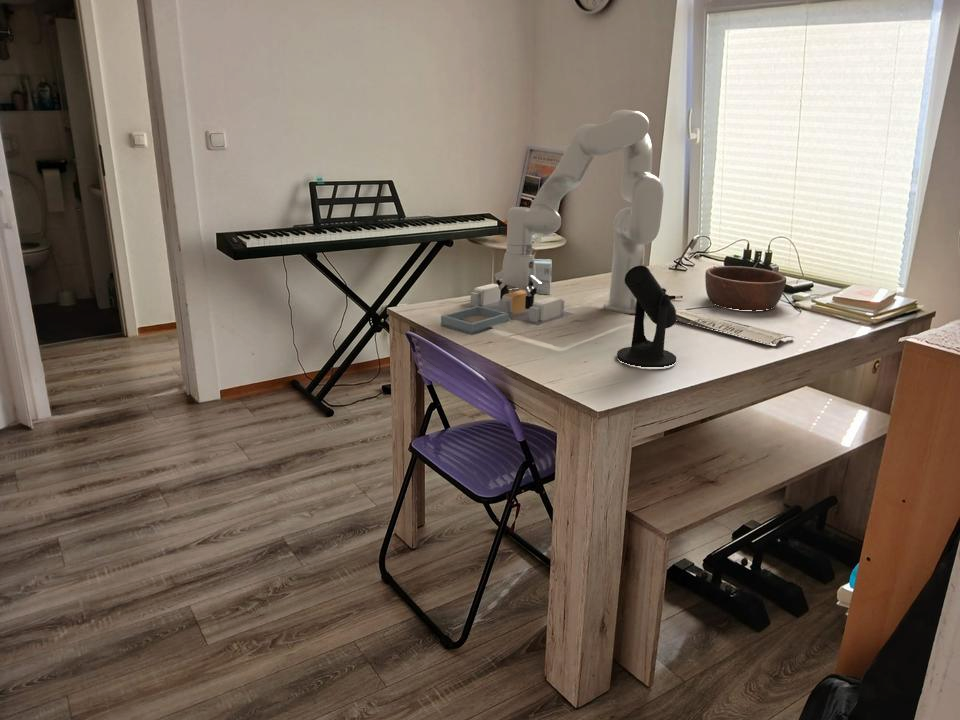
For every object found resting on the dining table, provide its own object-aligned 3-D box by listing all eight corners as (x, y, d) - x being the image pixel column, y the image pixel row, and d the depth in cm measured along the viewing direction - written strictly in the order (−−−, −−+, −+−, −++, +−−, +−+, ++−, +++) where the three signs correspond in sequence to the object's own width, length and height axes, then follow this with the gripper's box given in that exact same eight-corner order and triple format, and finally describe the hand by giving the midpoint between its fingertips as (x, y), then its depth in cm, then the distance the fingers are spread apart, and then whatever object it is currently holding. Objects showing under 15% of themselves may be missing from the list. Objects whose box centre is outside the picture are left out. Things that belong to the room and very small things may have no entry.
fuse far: (502, 300, 245) (502, 285, 243) (481, 306, 238) (482, 290, 236) (493, 298, 247) (494, 283, 246) (473, 303, 240) (473, 288, 238)
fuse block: (573, 316, 233) (574, 300, 231) (537, 328, 220) (538, 311, 219) (497, 298, 252) (498, 283, 250) (460, 308, 239) (460, 292, 237)
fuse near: (561, 314, 231) (562, 298, 229) (541, 321, 224) (542, 304, 222) (551, 312, 233) (552, 296, 232) (531, 318, 226) (532, 302, 224)
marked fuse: (530, 307, 238) (531, 291, 236) (510, 313, 231) (511, 297, 229) (522, 305, 240) (522, 289, 239) (501, 311, 233) (502, 295, 231)
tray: (508, 323, 224) (509, 313, 223) (472, 335, 213) (472, 324, 212) (477, 315, 232) (478, 305, 231) (440, 325, 220) (441, 315, 219)
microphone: (600, 357, 198) (608, 261, 189) (647, 347, 207) (657, 255, 199) (643, 375, 186) (653, 273, 178) (690, 362, 196) (702, 266, 188)
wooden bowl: (749, 293, 268) (753, 264, 264) (798, 312, 245) (804, 280, 242) (687, 297, 260) (690, 267, 257) (732, 317, 238) (736, 284, 234)
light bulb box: (550, 290, 264) (552, 259, 260) (550, 295, 258) (552, 263, 254) (519, 288, 265) (520, 257, 261) (518, 293, 258) (519, 261, 255)
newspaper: (792, 342, 216) (795, 330, 215) (771, 351, 208) (773, 339, 207) (684, 315, 240) (685, 304, 239) (661, 322, 232) (662, 310, 231)
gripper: (549, 252, 227) (546, 308, 233) (504, 243, 237) (502, 297, 243) (534, 255, 221) (531, 313, 227) (488, 246, 232) (487, 301, 238)
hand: (516, 305), depth 235 cm, fingers open, 9 cm apart
